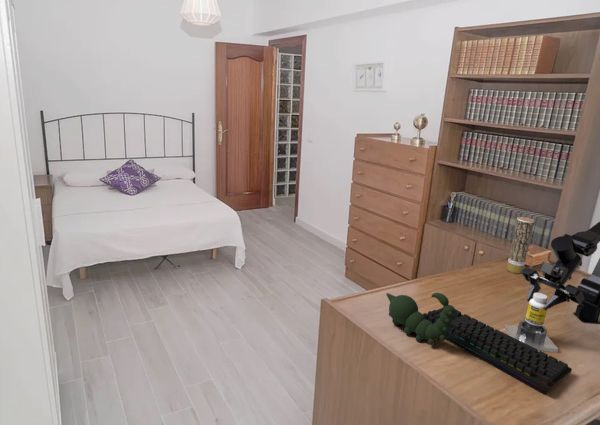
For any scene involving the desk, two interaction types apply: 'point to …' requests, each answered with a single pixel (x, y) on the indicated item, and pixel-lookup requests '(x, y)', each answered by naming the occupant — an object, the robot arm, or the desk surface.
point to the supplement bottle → (536, 310)
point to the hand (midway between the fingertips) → (535, 304)
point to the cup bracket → (532, 336)
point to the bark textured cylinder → (520, 244)
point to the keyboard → (504, 352)
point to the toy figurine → (421, 318)
